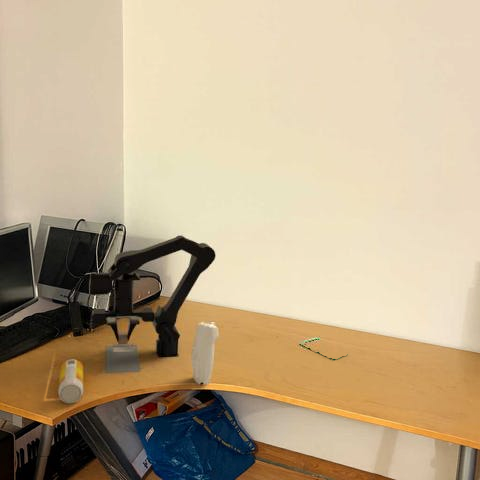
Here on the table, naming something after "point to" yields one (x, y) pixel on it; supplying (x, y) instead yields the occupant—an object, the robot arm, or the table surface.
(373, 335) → the table surface
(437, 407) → the table surface
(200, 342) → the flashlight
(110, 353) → the tool mat
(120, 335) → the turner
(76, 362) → the yellow cylindrical bottle
